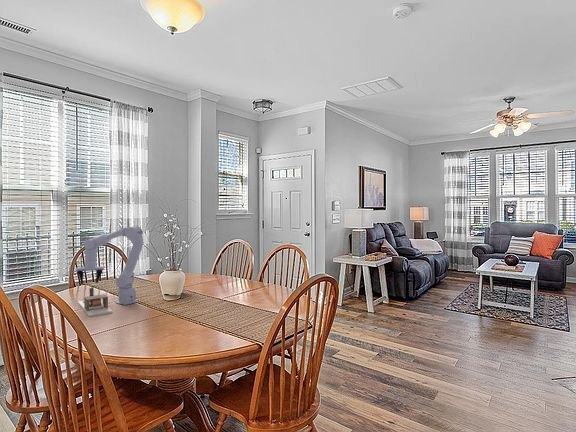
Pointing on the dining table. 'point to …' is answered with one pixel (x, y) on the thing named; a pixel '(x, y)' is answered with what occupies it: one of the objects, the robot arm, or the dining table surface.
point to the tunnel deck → (95, 312)
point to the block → (95, 302)
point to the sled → (90, 300)
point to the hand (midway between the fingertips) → (89, 283)
